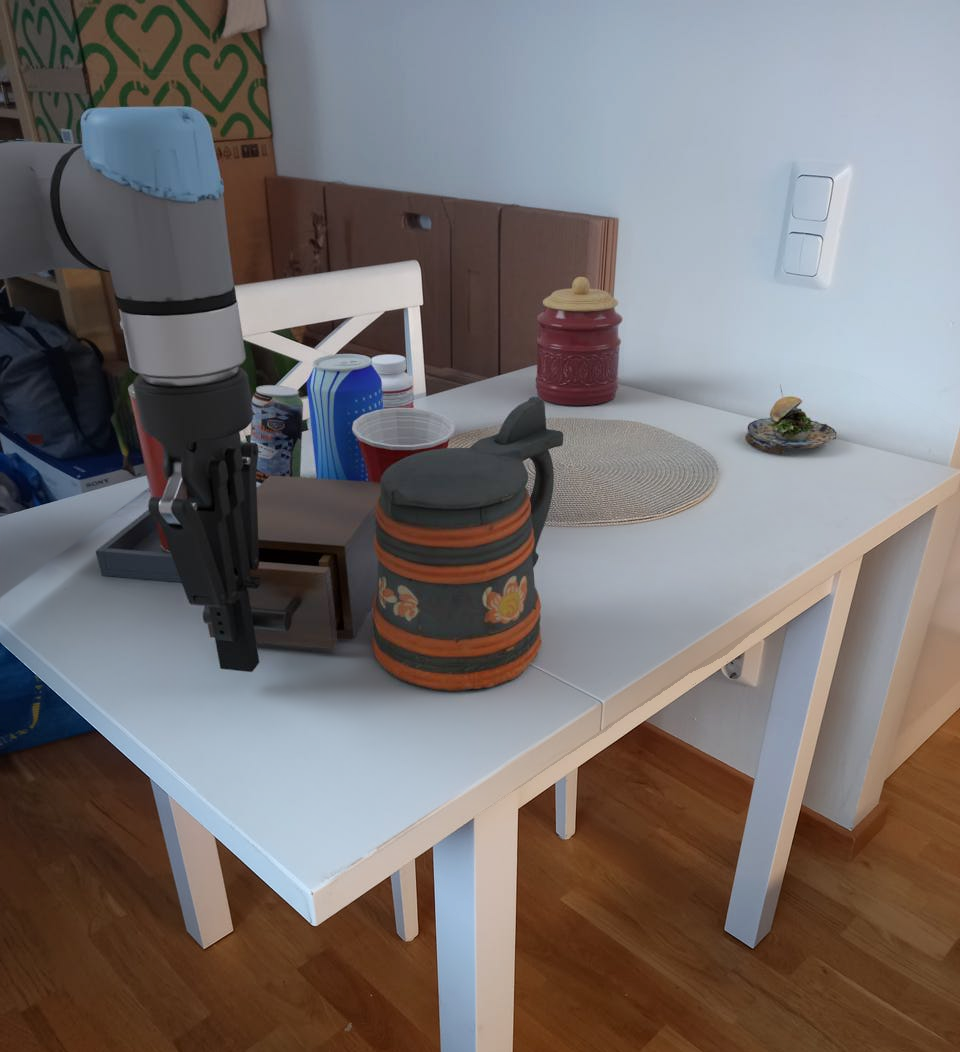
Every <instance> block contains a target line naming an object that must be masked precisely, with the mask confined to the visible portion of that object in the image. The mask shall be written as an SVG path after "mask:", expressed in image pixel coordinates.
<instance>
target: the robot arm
mask: <svg viewBox="0 0 960 1052" xmlns="http://www.w3.org/2000/svg"><path fill="white" fill-rule="evenodd" d="M80 129H81V141H82V143H65V142H47V141H32V140H30V139H20V138H16V139H10V140H7V139H5V140H4V139H0V280H4V279H10V278H17V277H21V276H26V275H32V274H37V273H41V272H46V271H47V272H48V271H53V270H63V269H73V270H74V269H75V270H87V271H88V270H90V271H98V272H105V273H110V278H111V281H112V286H113V289H114V300H115V304H116V307H117V309H118V311H119V317H120V321H119V325H120V329H121V330H122V331H123V337H124V342H125V347H126V353H127V358H128V364H129V368H130V369H131V370H132V371H133V372H135V373H136V374H138V375H136V377H135V379H134V381H133V383H132V384H133V387H134V392H135V397H136V402H137V407H138V412H139V417H140V422H141V426H142V428H143V430H144V431H145V432H146V433H147V434H148V435H150V436H151V437H154V438H155V439H157V440H158V441H159V442H160V443H161V444H162V446H163V472H164V476H165V478H166V479H167V481H168V483H167V486H166V489H165V491H164V494H163V497H151V496H150V498H149V500H148V503H147V508H148V509H149V512H150V514H151V515H152V516H153V518H154V519H155V520H156V521H157V523H158V524H159V525H160V526H161V528H162V531H163V534H164V537H165V539H166V542H167V545H168V547H169V550H170V553H171V555H172V558H173V561H174V563H175V566H176V569H177V571H178V574H179V577H180V579H181V582H180V583H181V585H182V587H183V590H184V593H185V595H186V598H187V601H188V603H189V604H190V605H191V606H201V607H202V606H203V607H204V606H209V610H210V615H211V621H212V626H213V631H214V636H215V638H214V641H215V647H216V652H217V658H218V663H219V668H220V670H228V671H238V672H247V673H253V672H254V670H255V669H256V668H257V666H258V665H259V664H260V658H259V657H260V656H259V651H258V645H257V642H256V638H255V631H254V625H253V619H252V612H251V606H250V600H249V593H248V591H247V588H254V589H257V588H258V587H259V585H260V577H251V572H250V571H251V570H257V569H258V567H259V541H258V513H257V487H258V485H257V483H256V470H257V461H258V451H259V449H258V445H257V443H251V441H250V442H249V441H242V440H241V432H242V431H244V430H246V428H248V427H249V426H250V425H251V421H252V419H253V410H252V403H251V399H252V397H251V390H250V383H249V376H248V373H247V372H246V370H244V369H243V368H242V367H241V365H243V363H244V362H245V361H246V359H247V357H246V356H247V355H246V349H245V343H244V342H245V341H244V335H243V330H242V324H241V317H240V310H239V303H238V300H237V293H236V287H235V282H234V274H233V267H232V260H231V251H230V244H229V235H228V225H227V217H226V207H225V199H224V198H225V197H224V193H225V186H224V179H222V177H221V173H220V167H219V161H218V157H217V153H216V148H215V143H214V139H213V133H212V128H211V125H210V123H209V121H208V120H207V118H206V116H205V115H204V114H203V113H202V112H201V111H199V110H198V109H196V108H194V107H191V106H180V105H179V106H171V105H170V106H169V105H168V106H117V107H116V106H115V107H92V108H88V109H86V110H85V111H84V112H83V113H82V115H81V118H80ZM148 509H147V510H148Z"/></svg>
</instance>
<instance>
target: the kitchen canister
mask: <svg viewBox="0 0 960 1052" xmlns="http://www.w3.org/2000/svg"><path fill="white" fill-rule="evenodd" d="M542 305H543V306H544V310H543V311H542V312H540V313H539V314H538V315H537V316H536V321H537V323H538V324H539V335H538V336H537V338H536V345H537V349H536V351H537V352H536V354H537V355H536V377H535V388H536V395H537V397H539V398H542V399H543V400H544V402H548V403H552V404H557V405H564V406H593V405H600V404H603V403H607V402H609V401H612V400H613V399H615V397H616V396H617V391H618V389H619V382H620V381H619V363H620V362H619V361H620V346H621V343H622V340H621V338H620V337H619V326H620V325H621V324H622V322H623V321H624V320H623V319H624V318H623V316H622V315H621V314H620V313H619V312H617V310H616V307H617V306H618V305H619V301H618V300H617V298H615V297H613V296H612V295H611V294H610V293H609V292H608V291H606V290H602V289H597V288H591V284H590V281H589V279H588V278H587V277H585V276H578V277H576V278H574V280H573V282H572V285H571V288H563V289H557V290H555V291H553V292H552V293H551V294H550V295H549V296H547V297H545V298H544V299H543V300H542Z"/></svg>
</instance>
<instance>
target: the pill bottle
mask: <svg viewBox="0 0 960 1052" xmlns="http://www.w3.org/2000/svg"><path fill="white" fill-rule="evenodd" d="M371 359H372V366H373V367H374V369H375V370H376V372H377V373H378V375H379V376H380V378H381V381H382V395H383V409H389V408H415V407H414V389H413V388H414V387H413V386H414V385H413V379H412V377H411V375H410V374H408V373H407V372H405V371H406V370H407V358H406V357H405V356H404V355H403V356H402V355H400V354H392V353H391V354H389V353H388V354H379V355H375V356H373V357H371Z"/></svg>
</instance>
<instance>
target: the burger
mask: <svg viewBox="0 0 960 1052" xmlns="http://www.w3.org/2000/svg"><path fill="white" fill-rule="evenodd" d="M779 386H780V388H782V386H781V384H779ZM780 392H781V396H782V397H781V398H779V399H778V400H777V401H776V402H775V403H774V404H773V406H772V408H771V409H770V412H769V417H768V418H766V417H765V418H759V419H755V420H753V421H751V422H749V424H748V425H747V428H746V429H747V433H746V434H745V441H746V442H747V444H749V445H750V446H752V447H753V448H755V449H758V450H760V451H762V452H765V453H773V454H776V455H782V454H783V453H784V452H785V451H786V449H799V450H806V449H807V450H808V449H814V448H818V447H820V446H821V447H822V446H825V445H826V444H828V443H830V442H831V441H834V440H836V439H837V431H836V430H835V429H834V428H833V427H831V426H830V425H828V424H826V423H821V422H819V421H814V420H812V419H811V417H808V416H807V414H806V412H805V411H804V410H802V408H798V407H799V406H800V405H801V404H802V403H803V400H802V399H801V398H799V397H797V396H783V395H784V394H783V390H782V389H780Z"/></svg>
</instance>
